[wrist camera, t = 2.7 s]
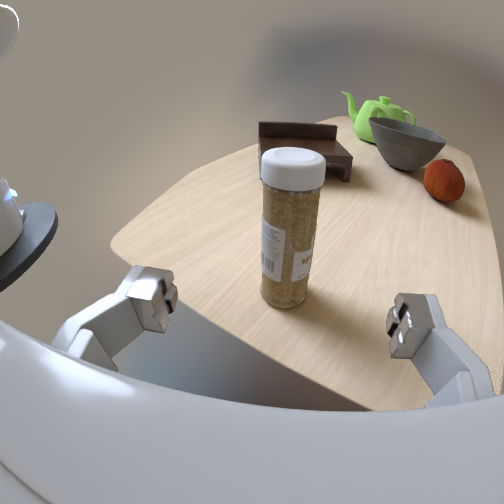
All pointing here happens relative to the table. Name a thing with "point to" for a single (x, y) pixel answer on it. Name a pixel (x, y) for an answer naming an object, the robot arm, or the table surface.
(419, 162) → the bowl
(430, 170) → the fruit
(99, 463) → the robot arm
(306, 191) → the sprinkles bottle
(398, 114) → the teapot
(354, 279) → the table surface
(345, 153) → the shelf
